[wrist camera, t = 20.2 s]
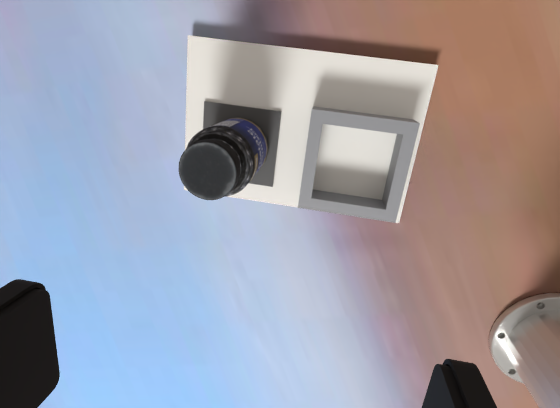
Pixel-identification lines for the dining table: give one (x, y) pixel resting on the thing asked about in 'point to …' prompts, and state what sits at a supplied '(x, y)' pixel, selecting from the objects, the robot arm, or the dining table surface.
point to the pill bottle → (223, 158)
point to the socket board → (316, 121)
